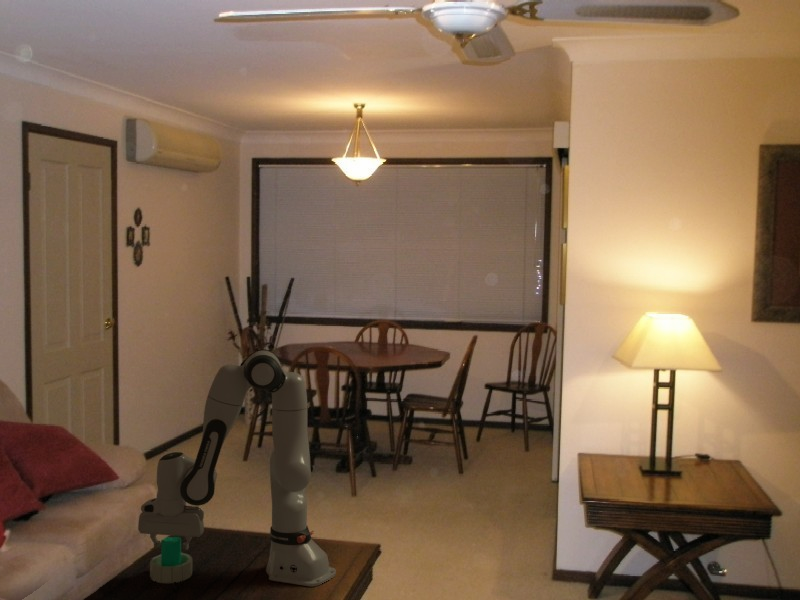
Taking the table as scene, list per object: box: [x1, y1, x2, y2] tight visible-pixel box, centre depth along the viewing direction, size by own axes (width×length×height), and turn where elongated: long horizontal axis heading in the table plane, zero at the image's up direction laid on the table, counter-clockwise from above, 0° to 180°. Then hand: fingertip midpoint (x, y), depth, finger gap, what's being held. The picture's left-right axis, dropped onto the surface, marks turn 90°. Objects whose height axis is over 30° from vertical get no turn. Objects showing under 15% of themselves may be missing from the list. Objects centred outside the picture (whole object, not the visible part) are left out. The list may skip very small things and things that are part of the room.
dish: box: [149, 552, 193, 584], centre depth 265 cm, size 12×12×5 cm
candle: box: [160, 535, 182, 566], centre depth 265 cm, size 6×6×12 cm
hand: (171, 548), depth 265 cm, fingers open, 8 cm apart
